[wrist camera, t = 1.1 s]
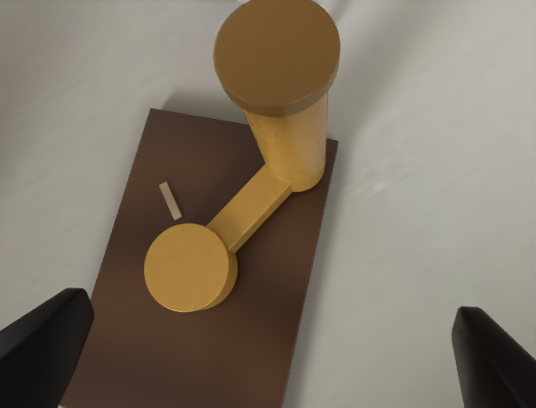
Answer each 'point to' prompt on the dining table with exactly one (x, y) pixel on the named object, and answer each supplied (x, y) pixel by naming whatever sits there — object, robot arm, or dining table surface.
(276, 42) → the yellow crank handle
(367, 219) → the dining table surface
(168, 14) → the dining table surface
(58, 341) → the robot arm
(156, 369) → the plate
